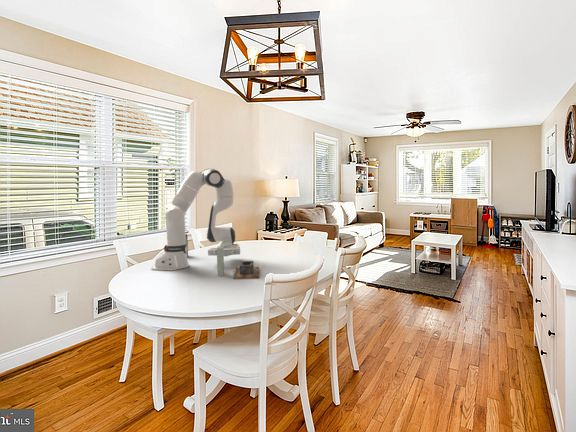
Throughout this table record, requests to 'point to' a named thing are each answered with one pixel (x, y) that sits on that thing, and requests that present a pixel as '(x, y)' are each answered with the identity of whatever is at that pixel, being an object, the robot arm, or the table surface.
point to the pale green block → (220, 261)
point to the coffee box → (186, 243)
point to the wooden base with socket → (246, 271)
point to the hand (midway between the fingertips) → (223, 254)
